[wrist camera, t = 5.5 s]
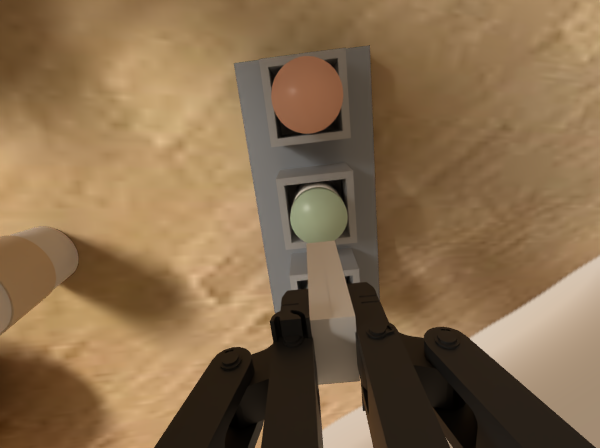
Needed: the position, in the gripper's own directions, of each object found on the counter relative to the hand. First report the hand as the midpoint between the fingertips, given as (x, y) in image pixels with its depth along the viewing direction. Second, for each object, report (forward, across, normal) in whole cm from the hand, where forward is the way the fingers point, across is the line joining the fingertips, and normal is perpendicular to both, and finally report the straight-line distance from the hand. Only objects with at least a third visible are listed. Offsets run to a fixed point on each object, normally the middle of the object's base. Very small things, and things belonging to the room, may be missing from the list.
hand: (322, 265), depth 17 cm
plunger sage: (+15, 0, 0) cm, 15 cm away
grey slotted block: (+19, 0, 0) cm, 19 cm away
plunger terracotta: (+13, 0, +9) cm, 15 cm away
